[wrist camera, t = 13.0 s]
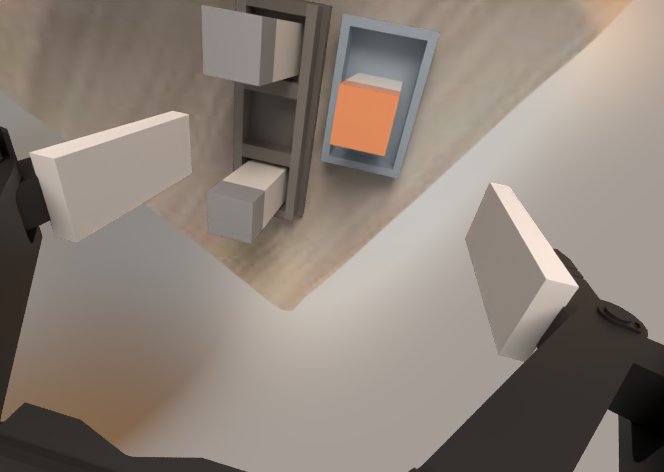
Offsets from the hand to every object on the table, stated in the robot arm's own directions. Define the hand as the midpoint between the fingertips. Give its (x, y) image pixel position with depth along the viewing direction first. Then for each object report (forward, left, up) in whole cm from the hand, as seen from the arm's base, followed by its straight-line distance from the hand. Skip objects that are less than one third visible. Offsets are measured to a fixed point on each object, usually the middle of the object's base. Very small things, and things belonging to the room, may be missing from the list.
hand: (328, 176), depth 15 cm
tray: (0, 0, -24) cm, 25 cm away
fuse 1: (-3, -10, -24) cm, 26 cm away
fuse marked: (0, 0, -24) cm, 24 cm away
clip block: (+4, -10, -24) cm, 27 cm away
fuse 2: (+11, -10, -24) cm, 28 cm away
